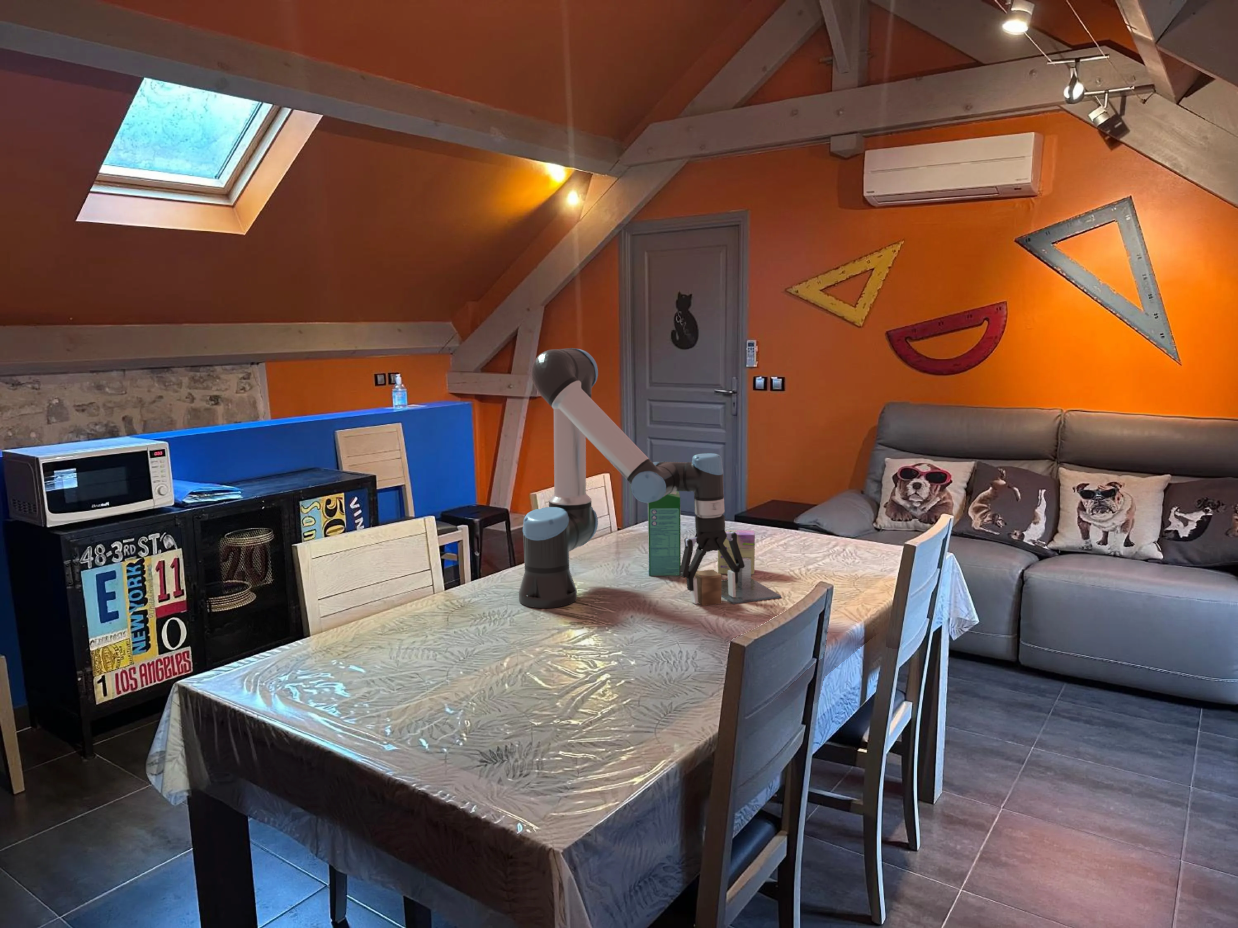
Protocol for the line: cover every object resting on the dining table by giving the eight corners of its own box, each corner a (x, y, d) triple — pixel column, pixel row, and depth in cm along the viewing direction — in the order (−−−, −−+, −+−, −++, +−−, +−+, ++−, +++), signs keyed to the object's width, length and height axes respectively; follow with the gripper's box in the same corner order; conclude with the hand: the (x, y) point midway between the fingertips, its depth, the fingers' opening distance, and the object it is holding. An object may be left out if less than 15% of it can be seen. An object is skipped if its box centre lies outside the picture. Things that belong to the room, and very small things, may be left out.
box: (753, 569, 250) (753, 529, 248) (754, 574, 244) (755, 534, 242) (717, 568, 251) (717, 529, 249) (717, 574, 245) (718, 534, 243)
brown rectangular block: (702, 605, 217) (702, 576, 216) (694, 599, 222) (694, 571, 221) (721, 603, 219) (721, 574, 218) (712, 597, 224) (712, 569, 223)
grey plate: (732, 603, 219) (732, 573, 217) (703, 584, 235) (703, 556, 234) (780, 597, 223) (781, 567, 222) (748, 579, 240) (749, 551, 239)
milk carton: (680, 575, 244) (680, 489, 240) (649, 575, 244) (648, 489, 240) (679, 566, 253) (678, 483, 249) (648, 567, 253) (647, 483, 249)
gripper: (674, 523, 210) (678, 610, 214) (756, 511, 217) (759, 596, 221) (662, 517, 217) (667, 601, 221) (742, 506, 224) (745, 588, 228)
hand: (713, 598), depth 221 cm, fingers open, 10 cm apart
